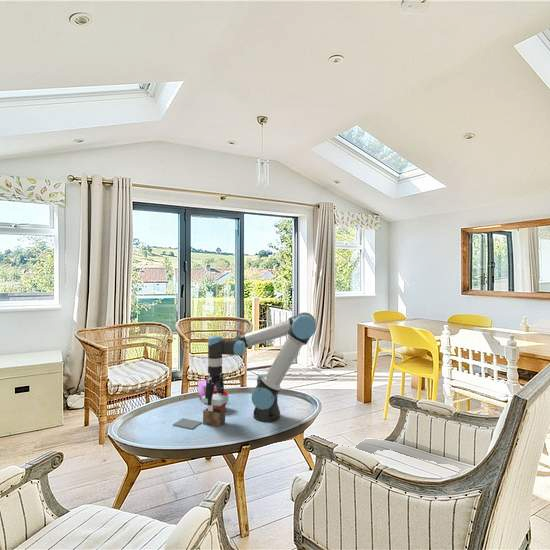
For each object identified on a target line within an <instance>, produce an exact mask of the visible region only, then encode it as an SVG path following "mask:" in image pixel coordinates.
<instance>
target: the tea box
mask: <svg viewBox="0 0 550 550" xmlns="http://www.w3.org/2000/svg"><path fill="white" fill-rule="evenodd" d="M225 423H226V409H225V410H224V409H219V408H213V411H208V407H207V408H205V409H203V410H202V424H203V425H208V426H212V427H213V426H214V427H218V428H220V427H222V426H223V425H225Z"/></svg>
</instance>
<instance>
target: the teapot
mask: <svg viewBox="0 0 550 550" xmlns="http://www.w3.org/2000/svg"><path fill="white" fill-rule="evenodd" d="M197 382H198V383H197V395H198V397H199V398H200V399H201V397H203V396H205V393H206V379H205V380H198V381H197ZM212 384H213V383H212ZM216 390H217V388H216V385H215V387H214V391H216Z"/></svg>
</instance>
